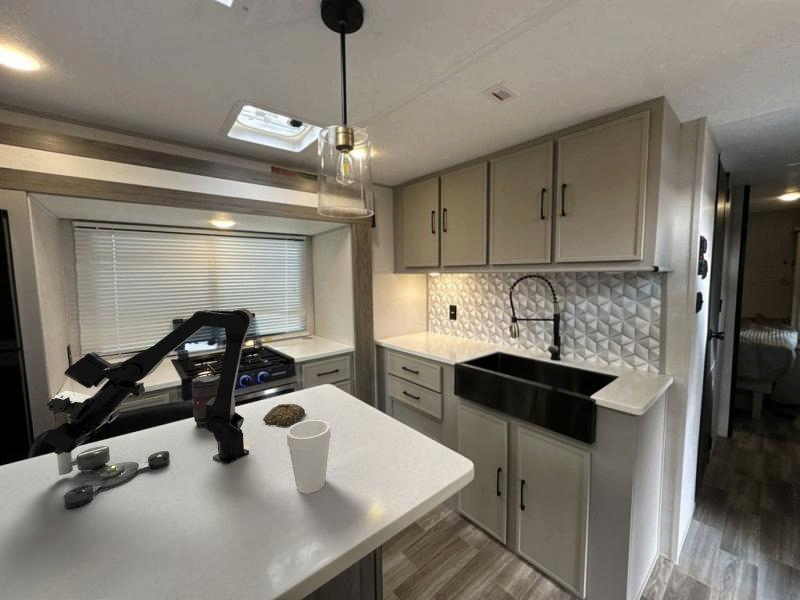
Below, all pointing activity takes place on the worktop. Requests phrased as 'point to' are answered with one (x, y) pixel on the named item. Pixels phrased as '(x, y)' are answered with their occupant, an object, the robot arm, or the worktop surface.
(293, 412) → the brown rock
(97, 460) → the footscrew lever
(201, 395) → the camera lens
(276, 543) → the worktop surface
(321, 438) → the foam cup
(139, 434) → the worktop surface
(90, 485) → the tribrach
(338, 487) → the worktop surface
